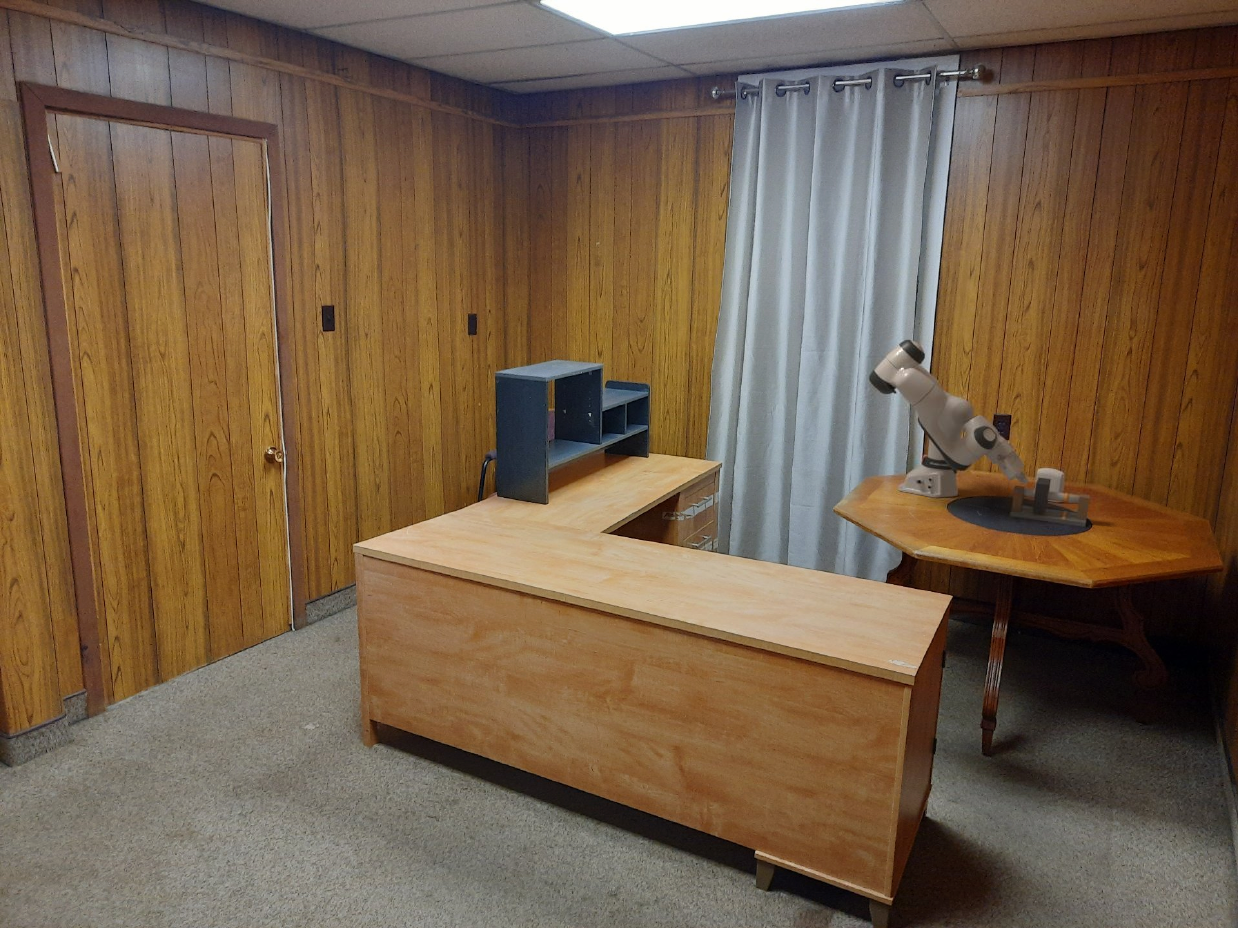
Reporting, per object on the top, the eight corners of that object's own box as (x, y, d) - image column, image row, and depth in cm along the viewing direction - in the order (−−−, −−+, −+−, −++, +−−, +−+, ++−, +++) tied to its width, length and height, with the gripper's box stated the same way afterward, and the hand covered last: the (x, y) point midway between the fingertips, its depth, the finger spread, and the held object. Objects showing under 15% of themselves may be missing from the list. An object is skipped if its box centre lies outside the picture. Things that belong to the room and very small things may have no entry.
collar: (1032, 510, 306) (1036, 483, 304) (1035, 503, 315) (1038, 477, 312) (1045, 512, 304) (1048, 484, 302) (1047, 505, 313) (1050, 478, 310)
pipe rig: (1009, 516, 309) (1013, 490, 307) (1013, 508, 319) (1016, 483, 317) (1085, 527, 298) (1089, 500, 296) (1086, 518, 308) (1090, 492, 306)
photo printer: (1031, 497, 334) (1035, 467, 331) (1036, 496, 337) (1040, 465, 334) (1058, 503, 326) (1062, 472, 323) (1063, 502, 329) (1068, 470, 326)
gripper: (1004, 453, 302) (1031, 484, 299) (1011, 443, 319) (1036, 472, 317) (989, 463, 305) (1015, 494, 303) (996, 453, 322) (1021, 482, 320)
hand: (1026, 483), depth 310 cm, fingers closed
